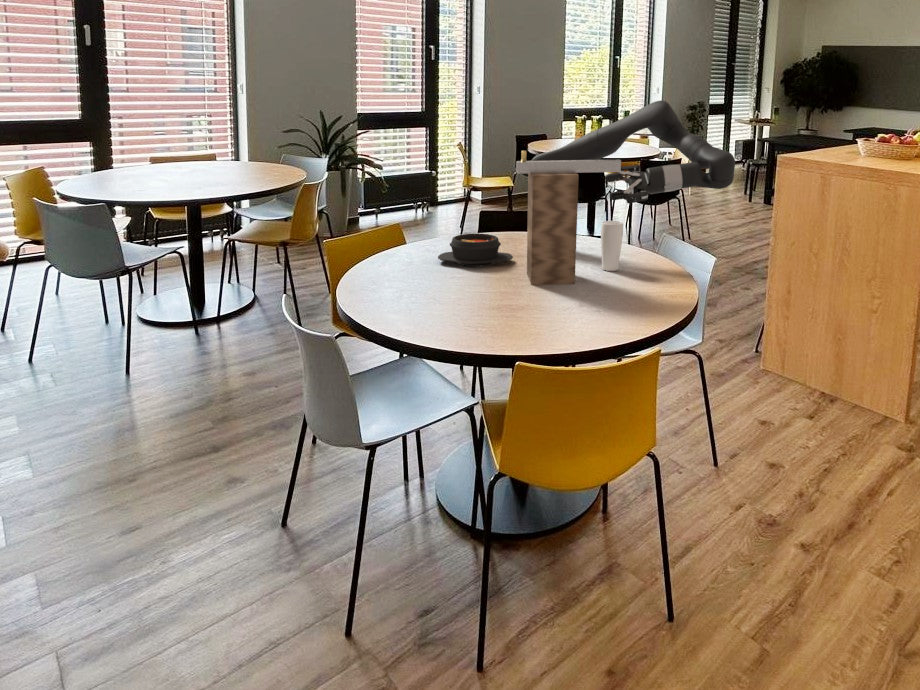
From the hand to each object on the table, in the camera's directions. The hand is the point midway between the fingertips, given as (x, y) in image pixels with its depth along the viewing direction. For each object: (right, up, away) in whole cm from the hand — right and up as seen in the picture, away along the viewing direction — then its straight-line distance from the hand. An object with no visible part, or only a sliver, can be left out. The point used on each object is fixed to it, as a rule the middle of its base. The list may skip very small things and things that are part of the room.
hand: (607, 187), depth 233 cm
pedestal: (-16, -26, +10) cm, 32 cm away
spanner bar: (-12, +4, -1) cm, 13 cm away
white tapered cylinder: (+4, -22, +20) cm, 30 cm away
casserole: (-38, -19, +32) cm, 53 cm away
